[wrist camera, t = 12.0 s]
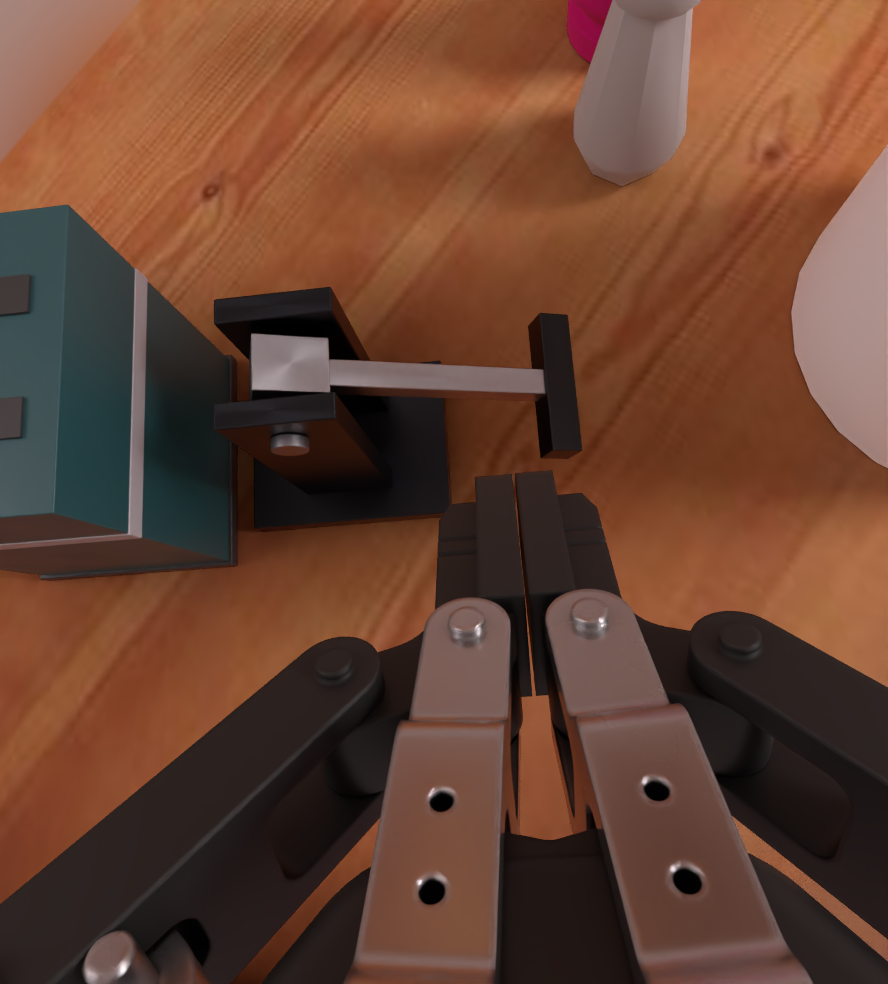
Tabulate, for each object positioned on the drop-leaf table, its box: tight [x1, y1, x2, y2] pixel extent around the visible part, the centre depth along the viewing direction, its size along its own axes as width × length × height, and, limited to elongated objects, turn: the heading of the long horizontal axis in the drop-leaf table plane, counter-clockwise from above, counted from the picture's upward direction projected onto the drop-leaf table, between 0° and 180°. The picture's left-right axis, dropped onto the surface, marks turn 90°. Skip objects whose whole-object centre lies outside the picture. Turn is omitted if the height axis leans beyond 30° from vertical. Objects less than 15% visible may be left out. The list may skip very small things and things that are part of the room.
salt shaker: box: [574, 0, 701, 186], centre depth 34 cm, size 6×6×13 cm
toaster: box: [0, 205, 238, 581], centre depth 32 cm, size 10×11×15 cm
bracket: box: [214, 287, 452, 532], centre depth 32 cm, size 10×8×13 cm
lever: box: [249, 313, 582, 459], centre depth 29 cm, size 13×6×2 cm, turn 93°
